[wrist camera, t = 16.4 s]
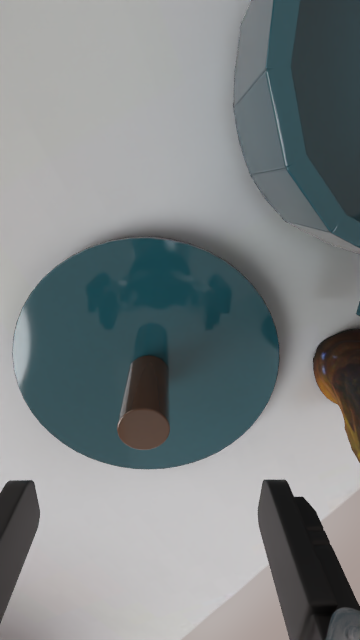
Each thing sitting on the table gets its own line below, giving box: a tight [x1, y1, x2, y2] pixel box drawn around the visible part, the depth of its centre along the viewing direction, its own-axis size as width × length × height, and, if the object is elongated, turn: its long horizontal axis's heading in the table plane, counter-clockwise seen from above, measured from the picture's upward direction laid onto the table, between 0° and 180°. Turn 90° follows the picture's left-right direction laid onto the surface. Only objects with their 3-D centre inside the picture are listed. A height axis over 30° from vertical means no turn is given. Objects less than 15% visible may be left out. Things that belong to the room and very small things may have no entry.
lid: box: [13, 237, 279, 469], centre depth 17 cm, size 16×16×6 cm
